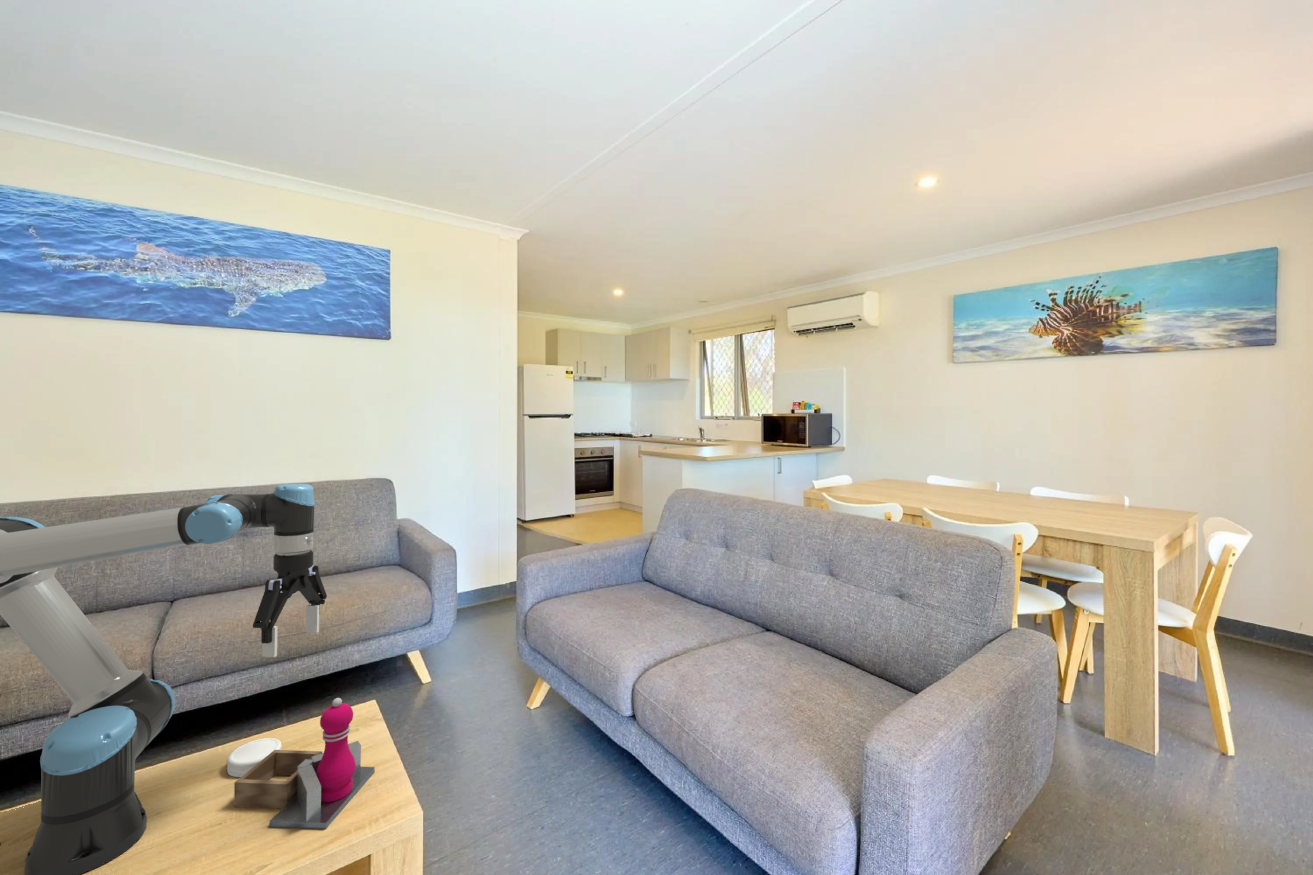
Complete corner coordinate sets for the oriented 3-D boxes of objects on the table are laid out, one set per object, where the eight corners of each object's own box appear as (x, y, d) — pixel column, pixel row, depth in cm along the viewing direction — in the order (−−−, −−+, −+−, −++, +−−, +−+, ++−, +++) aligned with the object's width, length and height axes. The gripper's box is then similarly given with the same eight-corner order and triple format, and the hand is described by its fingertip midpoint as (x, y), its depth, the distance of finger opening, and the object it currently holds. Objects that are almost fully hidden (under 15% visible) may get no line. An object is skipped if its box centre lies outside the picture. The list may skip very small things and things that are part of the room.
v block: (325, 828, 101) (326, 792, 101) (269, 826, 102) (270, 790, 102) (374, 772, 118) (375, 740, 118) (326, 770, 119) (326, 739, 119)
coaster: (292, 753, 125) (292, 739, 125) (254, 781, 115) (254, 765, 115) (255, 749, 126) (255, 734, 126) (215, 775, 116) (215, 760, 116)
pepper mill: (336, 806, 106) (338, 709, 106) (306, 801, 107) (308, 704, 107) (363, 783, 113) (364, 691, 113) (334, 778, 114) (336, 688, 114)
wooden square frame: (234, 806, 107) (234, 782, 107) (274, 771, 118) (274, 749, 118) (286, 808, 107) (287, 784, 107) (322, 773, 118) (322, 751, 118)
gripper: (268, 566, 106) (266, 668, 107) (343, 540, 131) (342, 623, 131) (232, 564, 106) (230, 667, 107) (314, 539, 131) (313, 623, 132)
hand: (292, 643), depth 119 cm, fingers open, 13 cm apart
